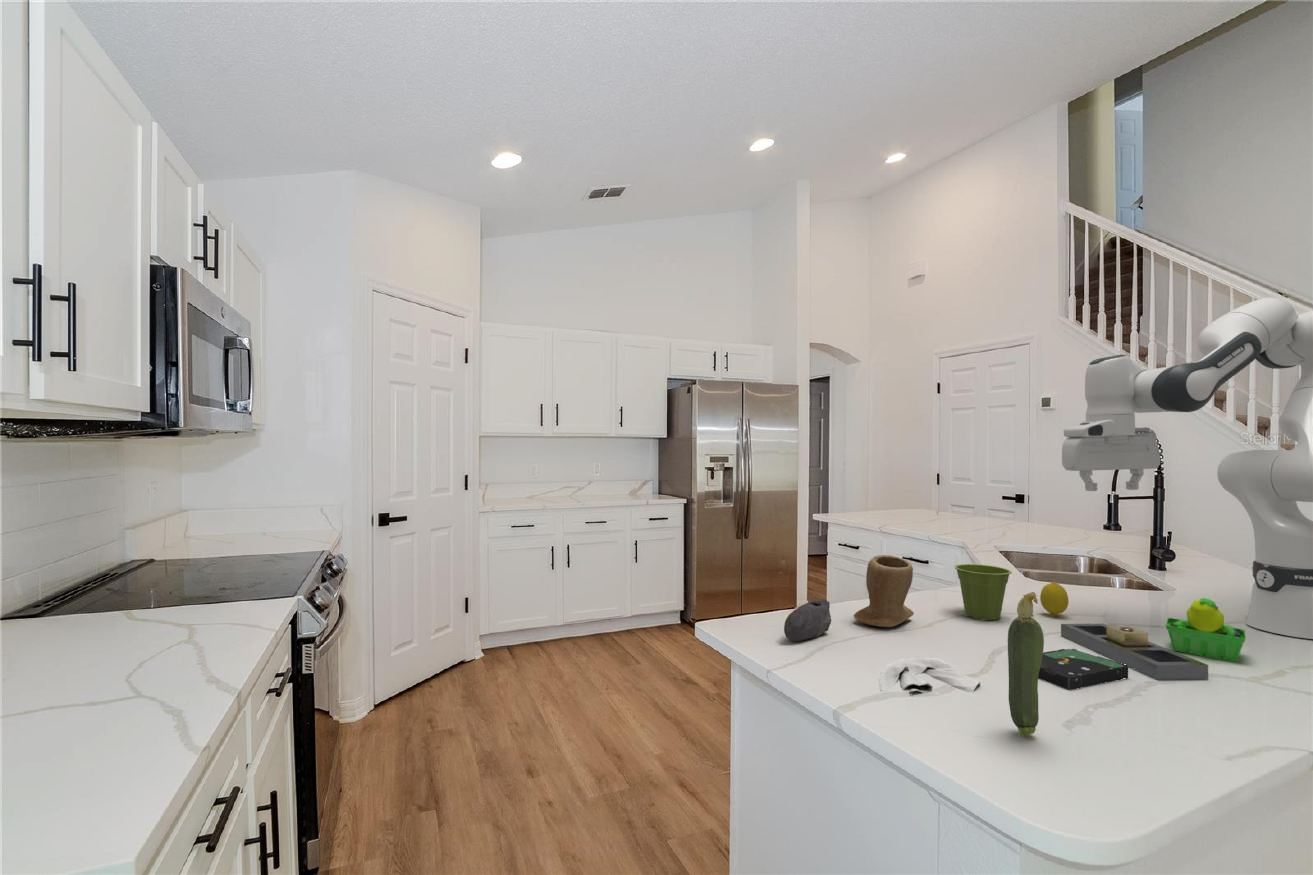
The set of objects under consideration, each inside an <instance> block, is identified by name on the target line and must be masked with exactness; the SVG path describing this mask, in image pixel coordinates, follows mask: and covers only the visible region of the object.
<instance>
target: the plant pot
mask: <svg viewBox="0 0 1313 875" xmlns="http://www.w3.org/2000/svg"><path fill="white" fill-rule="evenodd" d="M954 569H955V570H956V572H957V573H956V574H957V578H958V580H959V585H960V591H961V595H962V596H961V597H962V602H963V608H964V614H965V615H966V616H967V617H972V618H973V619H975V620H979V621H981V620H984V621H993V620H1000V618H1001V615H1002V611H1003V610H1002V609H1003V605H1004V604H1003V603H1004V598H1005V593H1006V587H1007V584H1008V581H1009V577H1010V575H1011V574H1012V573H1013V572H1012V570H1011V569H1007V568H1004V567H1000V566H995V565H987V564H976V563H974V564H973V563H970V564H969V563H963V564H962V563H961V564H956V565H954Z"/></svg>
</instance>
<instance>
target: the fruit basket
mask: <svg viewBox="0 0 1313 875" xmlns="http://www.w3.org/2000/svg"><path fill="white" fill-rule="evenodd" d="M1186 616H1187V618H1186V619H1187V620H1186V619H1180V618H1173V617H1168V618H1167V619H1166V622H1165V623H1164V624H1165V629H1166V630H1167V632H1168V635H1169V640H1170V643H1171V646H1172V651H1174V650H1175V651H1174V652H1177V651H1180V652H1179V653H1182V652H1185V653H1184V654H1189V653H1190V654H1189V655H1192V656H1193V655H1195V656H1199V655H1200V656H1201V657H1206V658H1210V659H1215V660H1223V661H1227V662H1231V663H1237V662H1238V659H1239V657H1240V654H1241V650H1242V647H1243V645H1244V643H1245V641H1246V639H1247V637H1246V630H1245V629H1243V628H1237V627H1232V626H1230V625H1227V624H1225V623H1224V622H1225V615H1224V614H1223V612H1222V611H1221V610H1220V609H1219V606H1217V604H1216V602H1214V601H1213V600H1212V599H1211V598H1207V597H1202V598H1199V599H1196V600H1194V601H1193V602H1192V603H1191V605H1190V606H1189V607H1188V609H1187V610H1186ZM1200 656H1199V657H1200Z"/></svg>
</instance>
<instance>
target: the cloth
mask: <svg viewBox="0 0 1313 875" xmlns="http://www.w3.org/2000/svg"><path fill="white" fill-rule="evenodd" d="M955 670H958V668H957V667H956V666H954V665H952V664H950V663H949V662H946V661H943V660H942V659H939V658H936V657H935V658H934V657H916V658H911V657H908V658H901V659H897V660H895V661H892V662H891V663H888V664H886V665H885V666H884V667H883V668H882V669H881V670H880V673H879V674H880V675H879V677H878V689H879V691H882V692H889V691H892V690H893V687H894V686H896V684H897V682H898V680H899V686H900V688H901V691H904V690H905V689H906V688H907V689H908V692H909V694H910V697H913V693H914V692H919V693H922V694H925V693H930V692H932V690H933V685H931V684H930V683H929V682H928V681H927V680H926V679H923V678H921V677H920V676H919V675H920V674H926V675H927V676H929V677H931V678H933V679H935V680H937V681H940V682H942V683H945V684H947V685H949V686H951V687H953V688H955V689H958V690H961V691H964V692H966V693H972V694H973V693H974V692H975V689H976V688H977V687H981V680H979V679H976V678H973V677H970V676H967V675H964V674H961V673H956V672H954V671H955ZM952 671H953V672H952Z"/></svg>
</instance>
